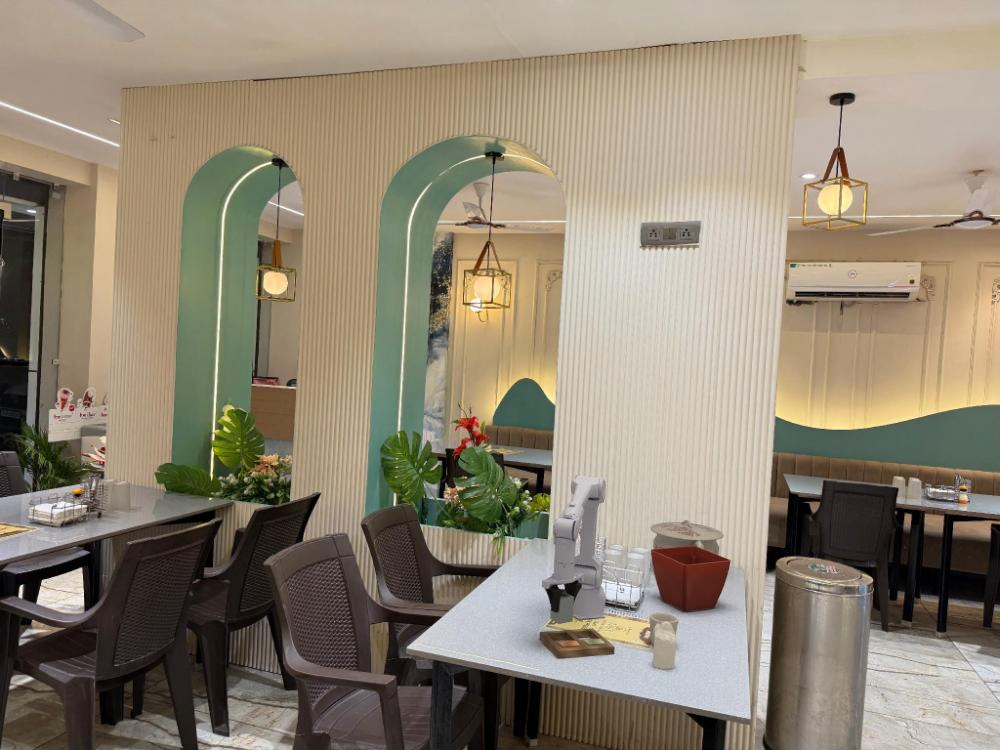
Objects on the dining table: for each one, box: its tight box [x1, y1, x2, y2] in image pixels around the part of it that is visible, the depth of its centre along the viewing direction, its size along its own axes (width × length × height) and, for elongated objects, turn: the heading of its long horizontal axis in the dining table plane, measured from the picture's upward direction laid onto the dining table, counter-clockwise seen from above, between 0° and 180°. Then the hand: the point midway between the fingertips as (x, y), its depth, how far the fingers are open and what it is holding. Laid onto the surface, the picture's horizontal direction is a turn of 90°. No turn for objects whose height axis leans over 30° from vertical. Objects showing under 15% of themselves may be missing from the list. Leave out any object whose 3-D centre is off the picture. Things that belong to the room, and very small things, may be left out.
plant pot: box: [650, 546, 732, 613], centre depth 248 cm, size 19×19×17 cm
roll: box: [652, 621, 677, 670], centre depth 197 cm, size 6×12×6 cm
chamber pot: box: [649, 519, 725, 556], centre depth 285 cm, size 28×28×21 cm
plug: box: [549, 588, 574, 624], centre depth 208 cm, size 4×4×8 cm
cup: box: [649, 611, 679, 645], centre depth 210 cm, size 11×8×8 cm
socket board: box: [539, 628, 616, 660], centre depth 207 cm, size 16×14×2 cm
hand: (561, 609), depth 208 cm, fingers closed on plug, 5 cm apart
